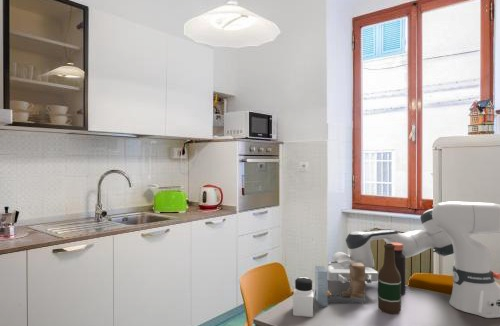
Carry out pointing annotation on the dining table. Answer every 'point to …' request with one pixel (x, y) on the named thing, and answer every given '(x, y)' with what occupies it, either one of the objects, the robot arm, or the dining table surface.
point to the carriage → (356, 281)
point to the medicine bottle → (303, 298)
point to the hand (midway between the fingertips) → (357, 281)
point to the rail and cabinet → (321, 290)
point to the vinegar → (400, 264)
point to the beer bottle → (389, 283)
